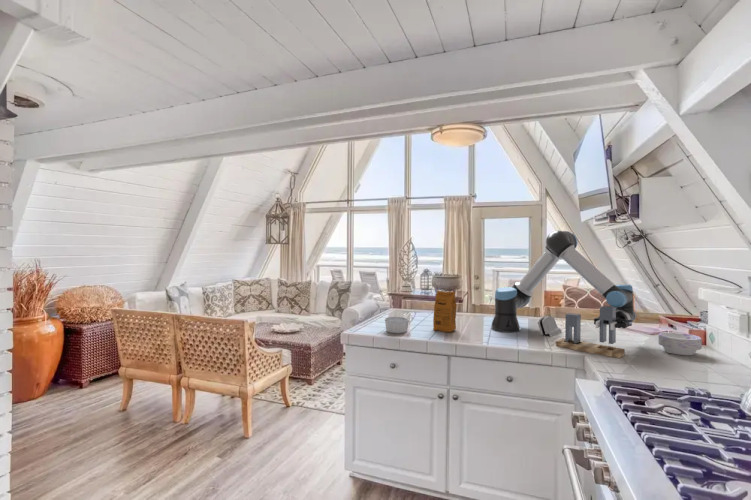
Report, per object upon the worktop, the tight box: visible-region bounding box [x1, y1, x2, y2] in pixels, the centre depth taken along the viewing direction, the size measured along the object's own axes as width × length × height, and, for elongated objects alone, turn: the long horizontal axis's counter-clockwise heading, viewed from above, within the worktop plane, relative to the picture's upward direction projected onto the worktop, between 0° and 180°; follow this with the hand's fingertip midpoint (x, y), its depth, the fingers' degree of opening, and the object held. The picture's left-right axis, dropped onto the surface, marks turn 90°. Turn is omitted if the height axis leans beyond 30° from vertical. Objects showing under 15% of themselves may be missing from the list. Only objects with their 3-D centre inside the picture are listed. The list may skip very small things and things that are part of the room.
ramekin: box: [384, 316, 410, 334], centre depth 208 cm, size 13×13×7 cm
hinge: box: [537, 315, 562, 337], centre depth 208 cm, size 17×5×10 cm, turn 136°
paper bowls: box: [657, 331, 703, 356], centre depth 170 cm, size 15×15×8 cm
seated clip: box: [564, 312, 582, 344], centre depth 178 cm, size 5×5×16 cm
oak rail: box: [555, 337, 626, 359], centre depth 173 cm, size 26×8×2 cm, turn 44°
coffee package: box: [432, 290, 457, 333], centre depth 212 cm, size 10×12×22 cm
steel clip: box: [598, 305, 617, 345], centre depth 167 cm, size 5×5×16 cm
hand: (604, 325), depth 164 cm, fingers closed on steel clip, 5 cm apart
